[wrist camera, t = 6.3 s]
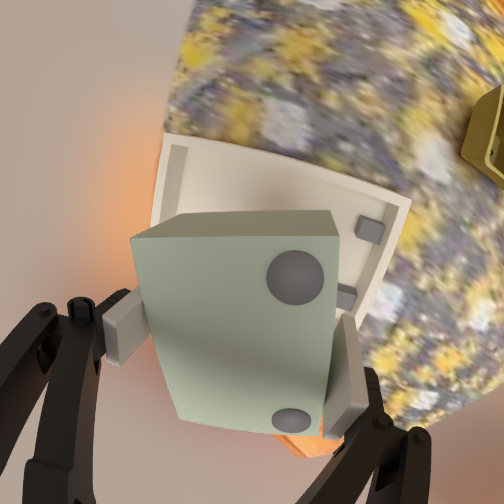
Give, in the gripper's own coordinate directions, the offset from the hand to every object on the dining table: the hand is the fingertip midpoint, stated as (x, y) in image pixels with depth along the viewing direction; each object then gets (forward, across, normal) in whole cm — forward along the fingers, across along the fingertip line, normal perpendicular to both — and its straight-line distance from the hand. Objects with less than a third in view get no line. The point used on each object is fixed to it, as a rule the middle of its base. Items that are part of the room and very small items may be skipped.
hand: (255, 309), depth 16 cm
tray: (+16, -1, 0) cm, 16 cm away
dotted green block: (0, 0, 0) cm, 0 cm away
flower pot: (+16, +19, +18) cm, 31 cm away
